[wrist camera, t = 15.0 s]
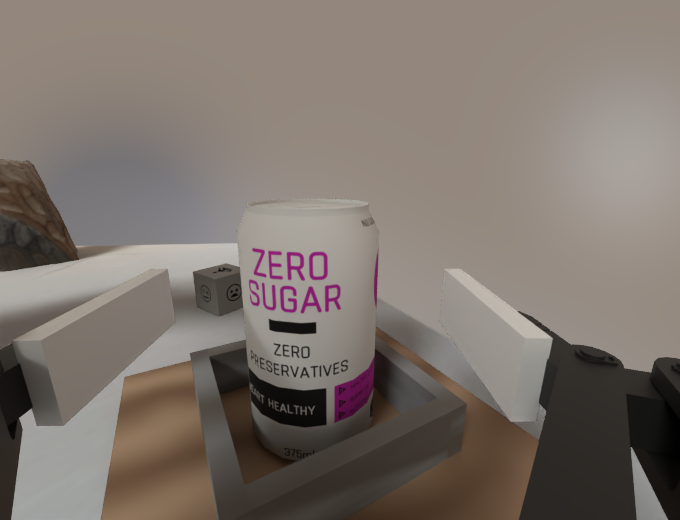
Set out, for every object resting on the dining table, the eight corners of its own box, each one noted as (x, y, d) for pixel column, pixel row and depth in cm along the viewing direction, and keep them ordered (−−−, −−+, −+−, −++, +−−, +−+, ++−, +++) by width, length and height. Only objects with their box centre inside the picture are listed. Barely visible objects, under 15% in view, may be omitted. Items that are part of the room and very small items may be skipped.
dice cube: (251, 304, 43) (248, 269, 42) (219, 316, 39) (215, 279, 38) (229, 296, 46) (226, 263, 45) (197, 307, 42) (192, 271, 41)
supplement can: (346, 373, 27) (348, 197, 23) (392, 449, 20) (407, 207, 16) (249, 393, 25) (233, 199, 21) (259, 490, 17) (237, 213, 13)
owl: (-9, 274, 55) (-45, 155, 50) (-15, 261, 63) (-47, 157, 58) (80, 260, 65) (58, 158, 60) (65, 250, 73) (44, 160, 67)
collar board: (127, 392, 27) (117, 340, 26) (362, 328, 38) (363, 289, 37) (36, 1038, 7) (-35, 947, 6) (589, 500, 18) (609, 429, 17)
